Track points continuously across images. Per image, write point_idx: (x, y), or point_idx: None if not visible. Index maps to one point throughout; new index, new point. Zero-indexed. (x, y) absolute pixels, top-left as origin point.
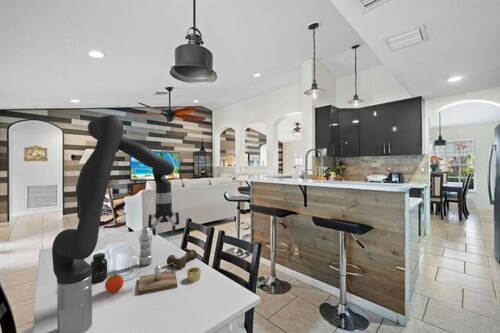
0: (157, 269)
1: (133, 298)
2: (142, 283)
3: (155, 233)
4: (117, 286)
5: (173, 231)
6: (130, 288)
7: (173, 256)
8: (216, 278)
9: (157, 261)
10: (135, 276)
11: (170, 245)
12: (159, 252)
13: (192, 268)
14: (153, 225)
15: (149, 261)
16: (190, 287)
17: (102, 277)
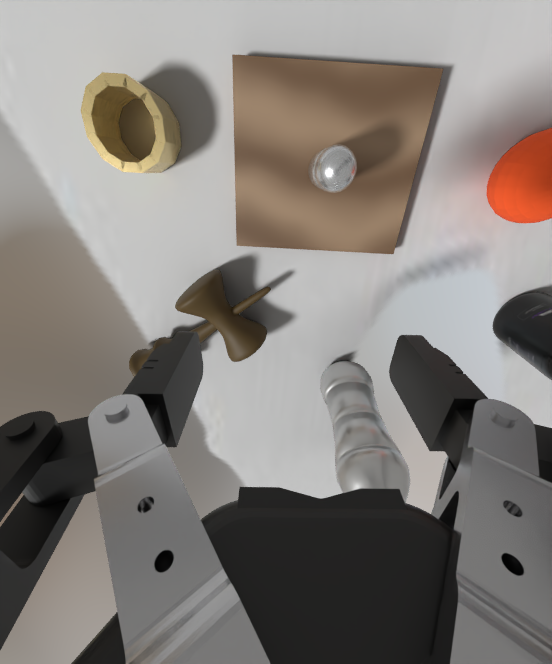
0: (343, 145)
1: (462, 38)
2: (400, 162)
3: (416, 347)
4: (539, 132)
5: (178, 343)
6: (443, 174)
7: (234, 345)
8: (10, 61)
9: (297, 378)
10: (397, 286)
11: (241, 475)
12: (282, 441)
13: (134, 162)
14: (536, 447)
15: (333, 368)
16: (162, 10)
17: (528, 302)
